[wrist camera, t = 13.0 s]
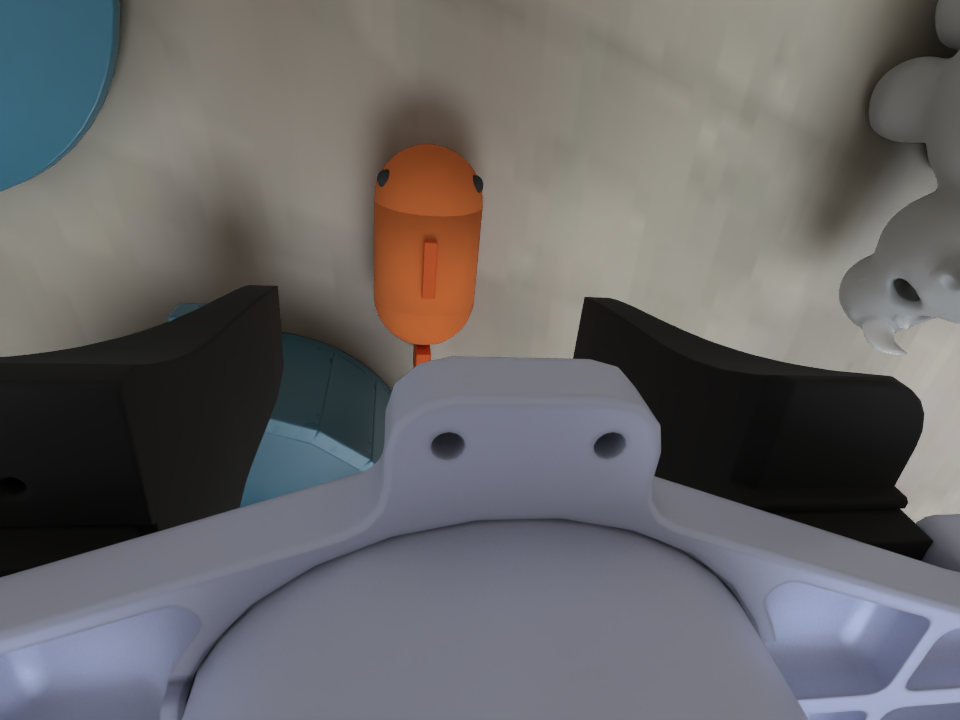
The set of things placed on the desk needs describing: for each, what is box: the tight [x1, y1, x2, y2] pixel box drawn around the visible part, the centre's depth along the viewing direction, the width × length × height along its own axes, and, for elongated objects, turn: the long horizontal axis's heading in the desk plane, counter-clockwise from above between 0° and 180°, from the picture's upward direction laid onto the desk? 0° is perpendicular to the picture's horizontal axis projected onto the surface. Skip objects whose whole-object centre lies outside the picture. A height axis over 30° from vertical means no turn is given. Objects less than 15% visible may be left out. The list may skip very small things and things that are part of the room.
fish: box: [374, 144, 483, 367], centre depth 20 cm, size 8×3×4 cm, turn 175°
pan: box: [168, 303, 392, 508], centre depth 22 cm, size 12×18×6 cm
